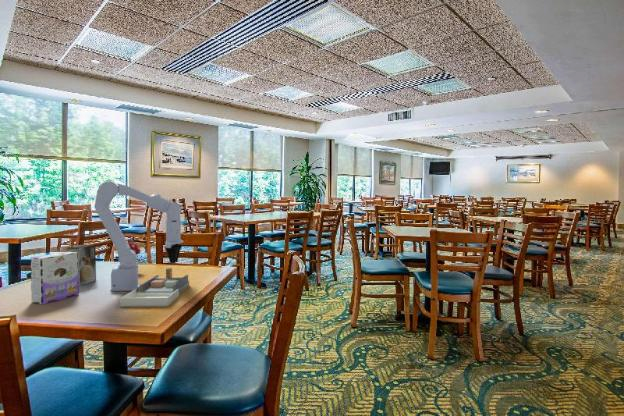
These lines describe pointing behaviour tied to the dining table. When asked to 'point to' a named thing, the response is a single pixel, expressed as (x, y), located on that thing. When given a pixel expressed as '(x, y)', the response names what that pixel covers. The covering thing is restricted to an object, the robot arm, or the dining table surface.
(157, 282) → the terracotta tile
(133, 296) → the box
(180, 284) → the plate
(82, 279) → the coffee box
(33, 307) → the dining table surface
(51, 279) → the candy box
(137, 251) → the decorative mushroom
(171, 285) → the sage tile
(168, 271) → the pale grey block
